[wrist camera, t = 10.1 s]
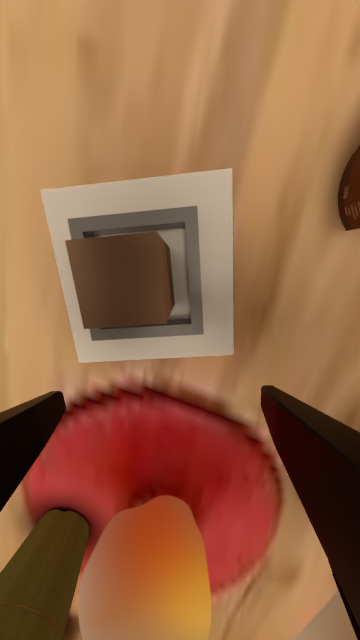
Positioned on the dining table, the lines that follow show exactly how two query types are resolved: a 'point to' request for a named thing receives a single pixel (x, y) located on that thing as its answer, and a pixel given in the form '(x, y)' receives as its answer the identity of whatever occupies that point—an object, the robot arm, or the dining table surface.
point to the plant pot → (43, 578)
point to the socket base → (185, 250)
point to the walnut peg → (122, 279)
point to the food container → (350, 193)
